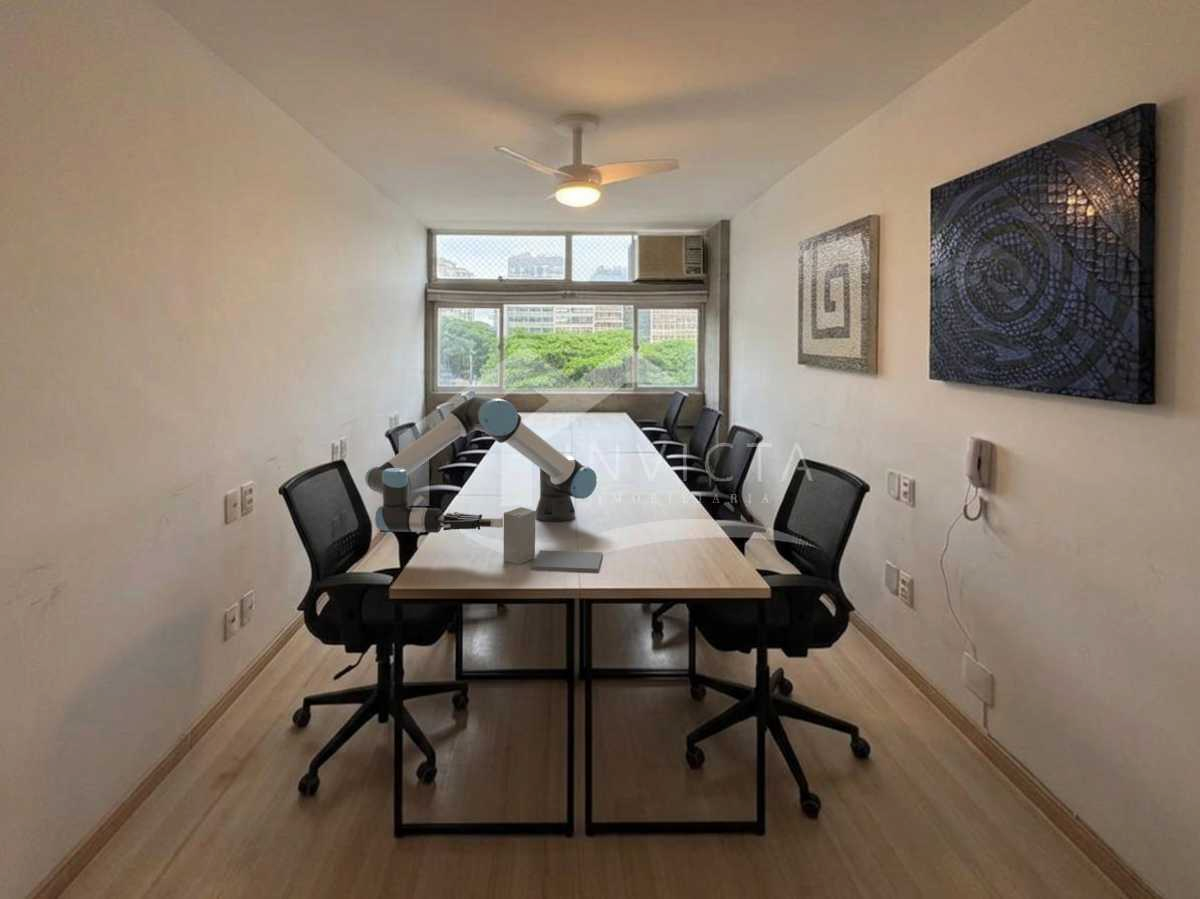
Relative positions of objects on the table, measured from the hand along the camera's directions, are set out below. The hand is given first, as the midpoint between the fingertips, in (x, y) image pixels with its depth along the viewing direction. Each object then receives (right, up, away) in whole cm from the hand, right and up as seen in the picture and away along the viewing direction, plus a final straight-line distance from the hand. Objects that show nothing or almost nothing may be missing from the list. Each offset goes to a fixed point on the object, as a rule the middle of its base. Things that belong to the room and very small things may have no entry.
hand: (502, 522), depth 220 cm
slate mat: (+20, -12, +1) cm, 24 cm away
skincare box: (+5, -12, +2) cm, 13 cm away
